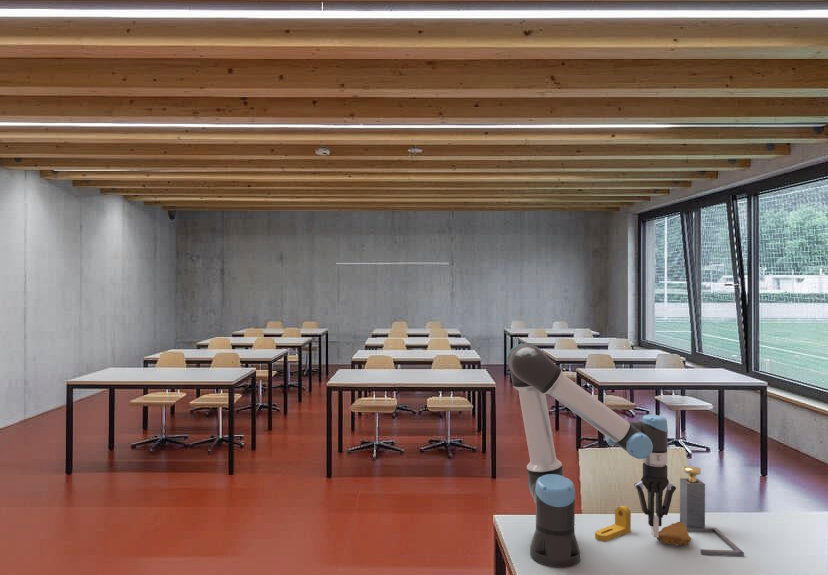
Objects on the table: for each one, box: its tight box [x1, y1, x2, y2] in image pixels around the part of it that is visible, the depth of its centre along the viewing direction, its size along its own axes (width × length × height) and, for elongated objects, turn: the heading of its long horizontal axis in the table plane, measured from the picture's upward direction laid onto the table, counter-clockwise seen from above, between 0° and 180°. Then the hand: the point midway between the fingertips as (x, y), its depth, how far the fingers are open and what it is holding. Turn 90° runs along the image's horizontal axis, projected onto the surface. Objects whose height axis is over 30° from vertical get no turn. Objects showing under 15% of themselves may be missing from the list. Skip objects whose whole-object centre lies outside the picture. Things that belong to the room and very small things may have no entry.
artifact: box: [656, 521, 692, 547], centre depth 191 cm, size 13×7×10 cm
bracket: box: [594, 505, 632, 542], centre depth 196 cm, size 15×4×8 cm, turn 126°
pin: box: [683, 465, 702, 483], centre depth 203 cm, size 5×5×8 cm
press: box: [679, 477, 745, 557], centre depth 193 cm, size 13×25×16 cm, turn 177°
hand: (654, 535), depth 190 cm, fingers closed
